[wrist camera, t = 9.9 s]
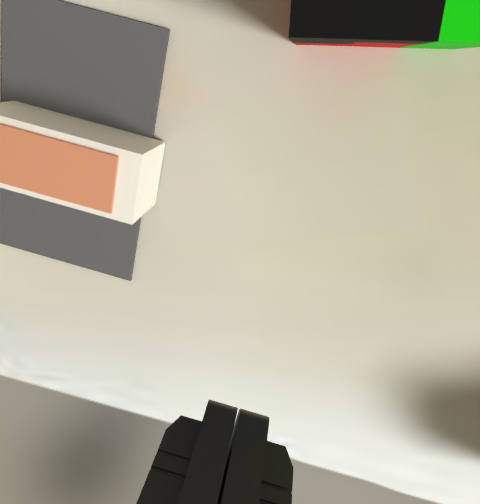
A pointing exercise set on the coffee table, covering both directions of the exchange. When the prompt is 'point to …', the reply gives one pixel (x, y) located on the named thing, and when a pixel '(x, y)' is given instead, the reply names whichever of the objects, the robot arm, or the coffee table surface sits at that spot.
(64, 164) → the tall block
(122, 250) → the mat
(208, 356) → the coffee table surface
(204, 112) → the coffee table surface
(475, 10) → the puzzle toy
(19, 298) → the coffee table surface
